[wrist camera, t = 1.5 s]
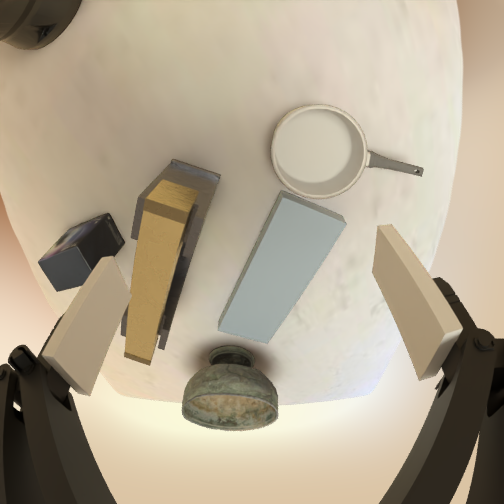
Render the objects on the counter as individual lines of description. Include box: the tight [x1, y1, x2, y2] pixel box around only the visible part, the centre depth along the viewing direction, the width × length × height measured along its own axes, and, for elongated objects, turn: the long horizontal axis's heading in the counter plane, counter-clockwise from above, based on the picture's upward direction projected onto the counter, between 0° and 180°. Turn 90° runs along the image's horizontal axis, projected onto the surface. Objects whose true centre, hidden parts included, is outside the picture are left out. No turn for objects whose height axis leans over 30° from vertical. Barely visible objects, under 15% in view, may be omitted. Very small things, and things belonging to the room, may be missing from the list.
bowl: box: [182, 346, 278, 431], centre depth 53 cm, size 20×19×15 cm
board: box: [218, 190, 346, 343], centre depth 45 cm, size 10×28×2 cm, turn 158°
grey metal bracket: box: [121, 159, 221, 350], centre depth 37 cm, size 7×24×12 cm, turn 158°
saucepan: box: [271, 104, 424, 199], centre depth 32 cm, size 12×20×6 cm, turn 86°
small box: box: [38, 213, 125, 292], centre depth 38 cm, size 11×6×10 cm, turn 106°
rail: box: [124, 179, 199, 366], centre depth 32 cm, size 4×26×5 cm, turn 158°
